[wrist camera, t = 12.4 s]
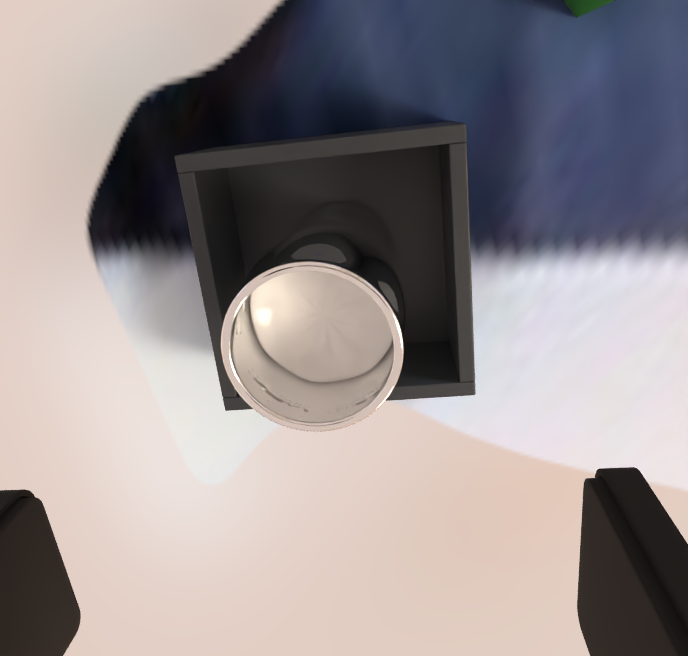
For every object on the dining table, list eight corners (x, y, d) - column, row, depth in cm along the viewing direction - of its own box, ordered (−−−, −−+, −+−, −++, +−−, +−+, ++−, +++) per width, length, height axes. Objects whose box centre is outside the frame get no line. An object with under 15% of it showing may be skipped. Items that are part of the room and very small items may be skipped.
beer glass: (292, 312, 36) (230, 440, 22) (277, 199, 34) (198, 263, 20) (404, 305, 36) (414, 433, 22) (398, 189, 33) (404, 248, 19)
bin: (214, 147, 34) (173, 156, 28) (451, 120, 32) (466, 123, 26) (252, 361, 38) (224, 411, 32) (460, 346, 37) (475, 395, 31)
